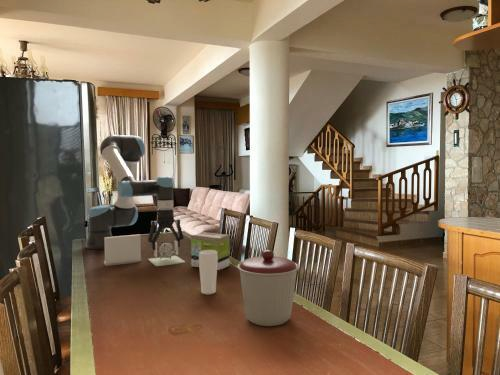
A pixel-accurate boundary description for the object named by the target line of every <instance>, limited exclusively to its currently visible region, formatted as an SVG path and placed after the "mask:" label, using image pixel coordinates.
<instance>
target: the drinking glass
mask: <svg viewBox="0 0 500 375" xmlns="http://www.w3.org/2000/svg"><path fill="white" fill-rule="evenodd" d="M217 264H218V256H217V251H215V250H203V251H200V252H199V267H198V268H199V278H200V292H201V293H202V294H203V295H212V294H215V293H216V291H217V278H218V275H217V274H218V271H217Z"/></svg>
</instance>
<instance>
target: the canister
mask: <svg viewBox="0 0 500 375" xmlns="http://www.w3.org/2000/svg"><path fill="white" fill-rule="evenodd" d="M237 270H239V275H240V283H241V291H242V292H241V294H242V299H243V308H244V312H245V316H246V319H247V320H249V322H251V323H252V324H254V325H257V326H262V327H277V326H280V325H284V324H285V323H286V322H288V321H289V319H290V317H291V315H292V310H293V304H294V297H295V286H296V278H297V277H296V276H297V271H298V270H299V265H298V264H297V263H296V262H294V261H293V260H292V259H289V258H287V257H283V256H275V252H273V250H270V249H266V250H265V249H264V250H263V251H262V252H261V256H252V257H248V258H246V259H244V260H243V261H242V262H239V263H238V264H237Z"/></svg>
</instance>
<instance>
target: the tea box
mask: <svg viewBox="0 0 500 375" xmlns="http://www.w3.org/2000/svg"><path fill="white" fill-rule="evenodd" d="M190 250H191V251H190V253H191V254H190V258H191V259H190V261H191V262H190V263H191V265H190V266H191V267H194V268H199V252H200V251H203V250H215V251H217V256H218V264H217V270H219V271H221V270H224V269H225V268H228V267H229V266H230V234H224V233H223V234H222V233H217V232H216V233H215V232H208V231H207V232H205V231H203V232H198V233H195V234H191V235H190ZM220 269H221V270H220Z"/></svg>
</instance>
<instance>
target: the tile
mask: <svg viewBox="0 0 500 375" xmlns="http://www.w3.org/2000/svg"><path fill="white" fill-rule="evenodd" d="M160 258H161V256H159V257H153V258H147V260H148V261H149V262H150V263H151V264H152V265H154V266H155V267H161V266H171V265H179V264H185V263H186V261H185V260H183V258H180V257H179V256H177V255H172V256H171V259H170V258H161V259H160Z"/></svg>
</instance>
